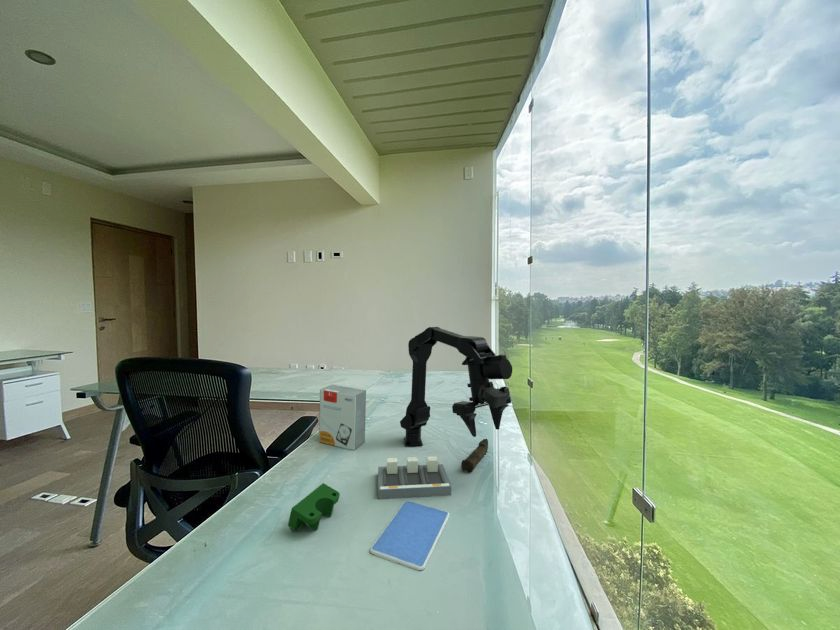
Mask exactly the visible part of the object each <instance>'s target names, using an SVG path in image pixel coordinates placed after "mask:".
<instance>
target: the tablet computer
mask: <svg viewBox="0 0 840 630" xmlns="http://www.w3.org/2000/svg"><path fill="white" fill-rule="evenodd" d="M449 518H450V512H448V511H446V510H442V509H440V508H436V507H435V508H434V506H433V507H432V506H428V505H425V504H422V503H418V502H414V501H411V500H404V502H403V503H402V504H401V506H400V507H399V509H397V511H396V513H395V514H394V515H393V517H392V518H391V520H390V521H389V522H388V524H387V525H386V526H385V528H384V529H383V530H382V532H381V533H380V535H379V536H378V537H377V538H376V540H375V541H374V543H373V544H372V545H371V547H370V549H369V552H370V554H371V553H372V554H371V555H373V554H374V556H376V557H379V558H381V557H382V559H384V558H385V559H384V560H388V561H390V560H391V562H393V561H394V562H393V563H395V562H397V563H396V564H398V563H400V564H399V565H401V564H403V565H402V566H404V565H405V566H404V567H407V566H408V567H407V568H409V567H411V568H410V569H412V568H414V569H413V570H415V569H417V570H416V571H418V570H422V571H424V570H425V569H424V568H426V567H427V564H428V563H429V560H430V558H431V556H432V553H433V551H434V549H435V547H436V545H437V543H438V541H439V539H440V537H441V534H442V532H443V530H444V528H445V527H446V524H447V522H448V519H449ZM423 569H424V570H423Z"/></svg>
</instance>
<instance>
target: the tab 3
mask: <svg viewBox="0 0 840 630" xmlns="http://www.w3.org/2000/svg"><path fill="white" fill-rule="evenodd" d="M438 464H439V459H438V456H426V465H427V471H428V472H438Z"/></svg>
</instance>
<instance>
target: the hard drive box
mask: <svg viewBox="0 0 840 630" xmlns="http://www.w3.org/2000/svg"><path fill="white" fill-rule="evenodd" d="M366 405H367V390H365V389H361V388H356V387H355V388H353V387H348V386H343V385H337V384H329V385H328V386H326V387H322V388H320V389H319V425H318V426H319V428H318V429H319V433H318V434H319V437H318V440H319V441H318V442H319V443H323V444H326V445H329V446H335V447H338V448H342V449H345V450H349V451H355V450H357V449H358V448H360V447H361V446H362V445H364V444H365V443H366V415H367V414H366V413H367V410H366V409H367V408H366Z"/></svg>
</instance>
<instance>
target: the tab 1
mask: <svg viewBox="0 0 840 630" xmlns="http://www.w3.org/2000/svg"><path fill="white" fill-rule="evenodd" d="M386 466H387V474H397V466H399V465H398V457H387V458H386Z"/></svg>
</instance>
